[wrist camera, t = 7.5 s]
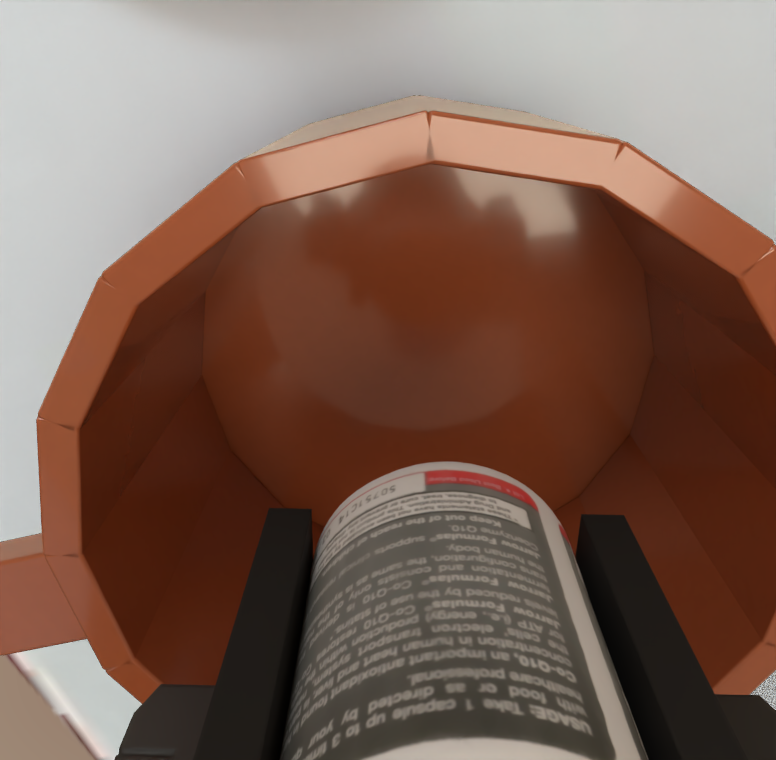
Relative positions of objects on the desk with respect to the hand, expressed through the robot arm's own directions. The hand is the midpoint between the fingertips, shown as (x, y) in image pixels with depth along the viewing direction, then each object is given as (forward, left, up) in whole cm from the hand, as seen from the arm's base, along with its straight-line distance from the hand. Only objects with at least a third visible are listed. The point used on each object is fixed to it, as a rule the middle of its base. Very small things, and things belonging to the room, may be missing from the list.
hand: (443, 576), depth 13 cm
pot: (0, 0, -11) cm, 11 cm away
